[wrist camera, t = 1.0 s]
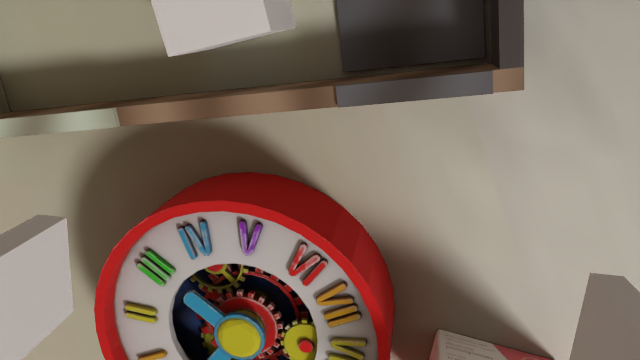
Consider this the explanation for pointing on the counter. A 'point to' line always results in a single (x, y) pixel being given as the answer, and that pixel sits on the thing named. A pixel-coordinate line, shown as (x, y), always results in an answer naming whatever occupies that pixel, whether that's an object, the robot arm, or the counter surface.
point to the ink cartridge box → (472, 349)
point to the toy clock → (246, 278)
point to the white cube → (218, 22)
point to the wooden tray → (357, 54)
